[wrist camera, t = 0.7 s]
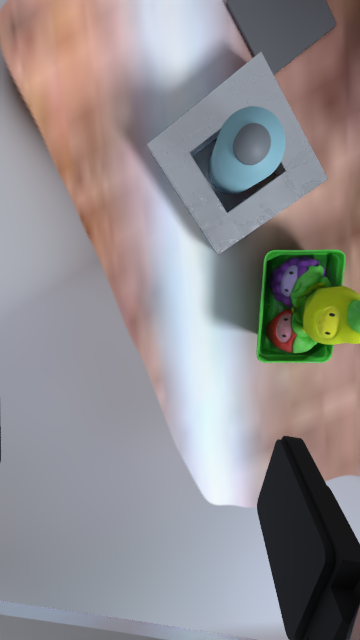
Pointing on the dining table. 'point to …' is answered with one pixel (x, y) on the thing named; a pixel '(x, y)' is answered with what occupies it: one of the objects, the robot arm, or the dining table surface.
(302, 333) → the fruit basket
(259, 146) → the blue cylinder
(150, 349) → the dining table surface
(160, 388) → the dining table surface
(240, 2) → the mat
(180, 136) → the frame
